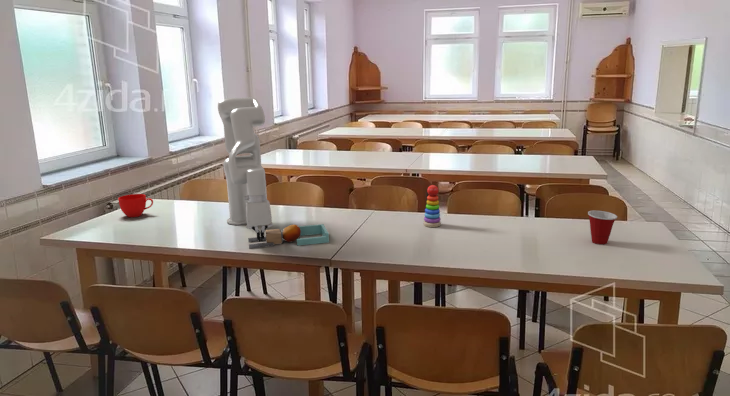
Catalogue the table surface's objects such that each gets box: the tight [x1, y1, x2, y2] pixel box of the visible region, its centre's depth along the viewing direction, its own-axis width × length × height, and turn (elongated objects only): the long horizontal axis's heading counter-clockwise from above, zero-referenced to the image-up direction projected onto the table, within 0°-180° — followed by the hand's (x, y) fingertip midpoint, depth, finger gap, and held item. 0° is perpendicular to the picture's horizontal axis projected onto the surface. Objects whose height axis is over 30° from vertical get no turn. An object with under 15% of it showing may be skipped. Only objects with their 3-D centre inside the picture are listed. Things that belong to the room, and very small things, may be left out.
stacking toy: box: [423, 184, 442, 228], centre depth 243 cm, size 8×8×19 cm
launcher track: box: [248, 235, 275, 249], centre depth 225 cm, size 10×10×2 cm
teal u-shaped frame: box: [296, 223, 330, 246], centre depth 230 cm, size 14×13×4 cm
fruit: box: [282, 224, 301, 243], centre depth 228 cm, size 8×8×8 cm
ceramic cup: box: [118, 193, 154, 218], centre depth 275 cm, size 13×17×10 cm
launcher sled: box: [265, 228, 284, 245], centre depth 226 cm, size 7×7×4 cm
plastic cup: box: [587, 210, 618, 245], centre depth 214 cm, size 11×11×12 cm
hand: (260, 240), depth 225 cm, fingers closed
